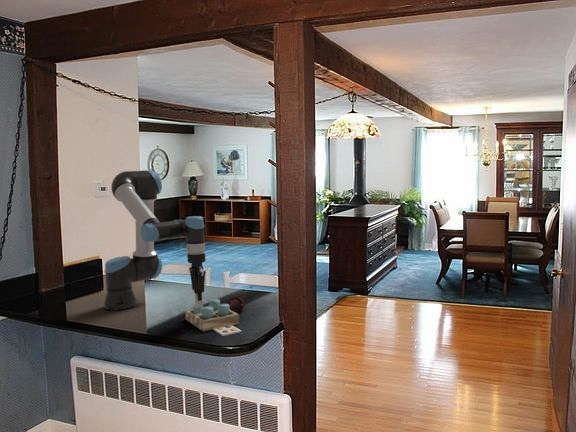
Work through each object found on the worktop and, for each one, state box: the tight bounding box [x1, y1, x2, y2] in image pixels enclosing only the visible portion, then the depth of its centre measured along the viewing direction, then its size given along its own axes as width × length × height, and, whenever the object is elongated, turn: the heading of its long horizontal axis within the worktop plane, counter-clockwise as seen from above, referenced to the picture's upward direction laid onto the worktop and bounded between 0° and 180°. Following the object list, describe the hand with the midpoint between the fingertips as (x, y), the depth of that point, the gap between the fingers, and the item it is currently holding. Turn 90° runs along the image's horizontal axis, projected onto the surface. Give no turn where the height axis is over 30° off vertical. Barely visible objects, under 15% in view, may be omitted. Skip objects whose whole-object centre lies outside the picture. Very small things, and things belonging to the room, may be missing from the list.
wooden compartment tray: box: [184, 305, 240, 332], centre depth 218 cm, size 20×16×4 cm
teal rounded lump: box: [192, 306, 205, 314], centre depth 220 cm, size 5×5×5 cm
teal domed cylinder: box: [202, 306, 214, 320], centre depth 211 cm, size 5×5×5 cm
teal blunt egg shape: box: [208, 298, 221, 311], centre depth 223 cm, size 5×5×5 cm
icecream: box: [228, 295, 246, 313], centre depth 232 cm, size 7×7×15 cm
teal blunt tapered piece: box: [218, 303, 231, 317], centre depth 215 cm, size 5×5×5 cm
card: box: [212, 324, 242, 337], centre depth 205 cm, size 10×8×1 cm
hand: (199, 307), depth 220 cm, fingers closed
